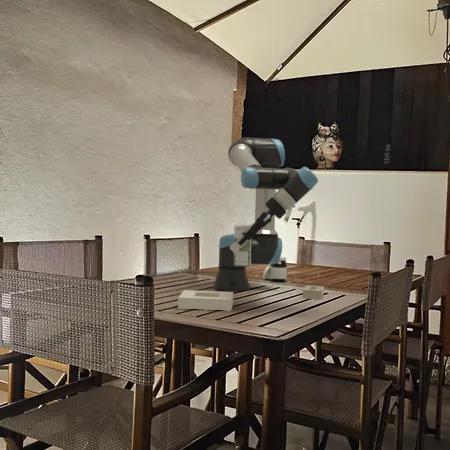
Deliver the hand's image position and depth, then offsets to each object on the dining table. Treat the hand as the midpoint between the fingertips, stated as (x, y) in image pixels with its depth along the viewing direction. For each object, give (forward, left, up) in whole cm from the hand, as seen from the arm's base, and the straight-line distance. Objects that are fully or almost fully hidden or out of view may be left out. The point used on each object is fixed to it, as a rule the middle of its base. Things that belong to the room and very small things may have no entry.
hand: (232, 249), depth 191 cm
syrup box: (+3, +2, -6) cm, 7 cm away
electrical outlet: (+4, +46, -21) cm, 50 cm away
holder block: (-6, -6, -20) cm, 22 cm away
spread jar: (-33, +67, -20) cm, 77 cm away
